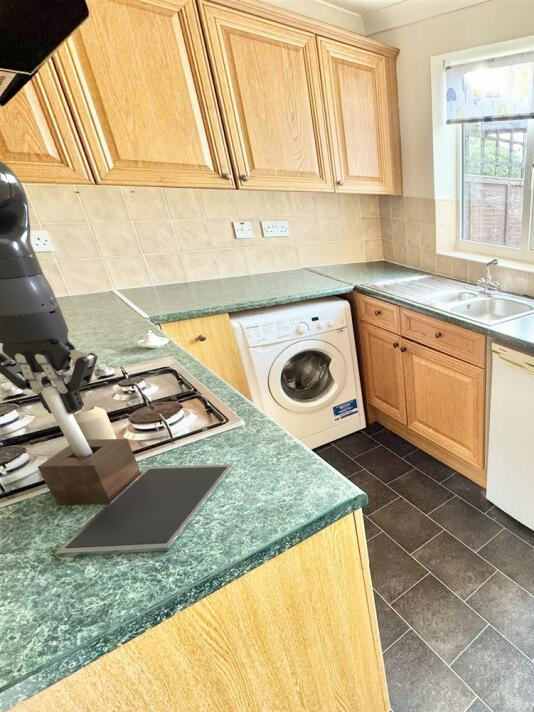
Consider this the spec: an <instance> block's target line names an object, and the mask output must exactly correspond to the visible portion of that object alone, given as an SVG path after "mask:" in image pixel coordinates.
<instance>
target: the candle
mask: <svg viewBox="0 0 534 712" xmlns="http://www.w3.org/2000/svg"><path fill="white" fill-rule="evenodd" d="M72 414H73V416H74V418H75V420H76V422H77V424H78V426H79V428H80V430H81V431H82V433H83V435H84V437H85V439H86V440H93V439H118V438H117V436H116V433H115V430H114V429H113V426H112V423H111V421H110V419H109V416H108V413H107V411H106V410H105V409H104V408H102V407H98V406H95V405H93V406H90V405H87V404H84V406H83V407H82V409H81V410H79V411H77V412H76V413H72Z"/></svg>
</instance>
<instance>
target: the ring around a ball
mask: <svg viewBox="0 0 534 712" xmlns="http://www.w3.org/2000/svg"><path fill="white" fill-rule="evenodd" d="M168 342H169V338H167V337H162V336H157V335H155V333H153V332H152V330H147V333H146V336H145V338H143V339H140V340H138V341H137V342H136V346H138V347H140V348H148V349H157V348H160V347H161V346H163V345H166V344H167V343H168Z"/></svg>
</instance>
